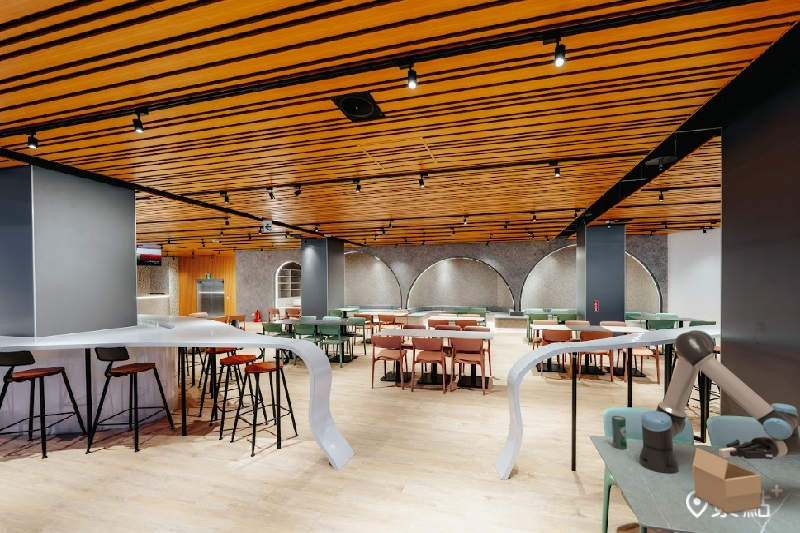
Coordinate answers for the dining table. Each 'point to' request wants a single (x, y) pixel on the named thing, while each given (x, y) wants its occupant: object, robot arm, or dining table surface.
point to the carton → (729, 488)
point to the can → (619, 432)
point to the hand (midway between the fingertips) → (721, 453)
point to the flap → (710, 463)
